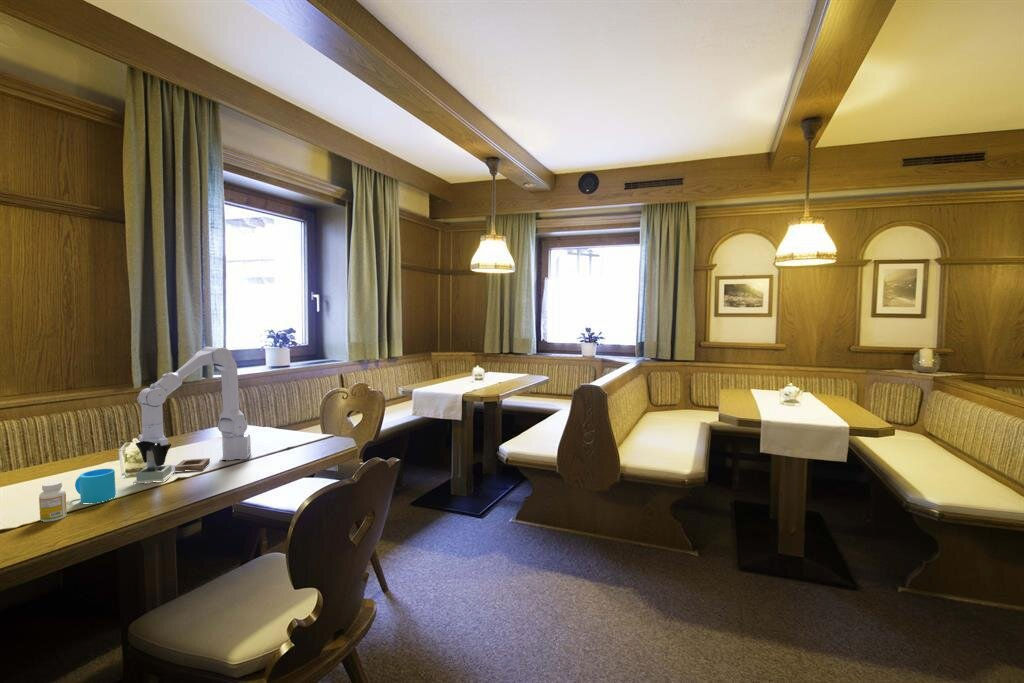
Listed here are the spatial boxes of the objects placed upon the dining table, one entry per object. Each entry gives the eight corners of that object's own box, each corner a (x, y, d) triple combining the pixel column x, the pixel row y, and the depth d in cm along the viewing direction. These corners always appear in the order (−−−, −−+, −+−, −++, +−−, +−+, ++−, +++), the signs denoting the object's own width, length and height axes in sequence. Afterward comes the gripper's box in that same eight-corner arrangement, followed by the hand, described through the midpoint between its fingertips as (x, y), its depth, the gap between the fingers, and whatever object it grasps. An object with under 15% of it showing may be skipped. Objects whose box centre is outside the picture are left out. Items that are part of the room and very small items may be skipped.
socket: (209, 463, 187) (209, 458, 187) (202, 470, 179) (202, 464, 179) (183, 465, 185) (183, 460, 184) (174, 472, 176) (174, 466, 176)
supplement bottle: (51, 514, 140) (49, 480, 139) (72, 513, 140) (70, 479, 139) (34, 522, 134) (32, 487, 134) (56, 522, 135) (54, 486, 134)
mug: (122, 495, 154) (121, 469, 154) (96, 505, 146) (95, 478, 146) (90, 492, 156) (89, 467, 156) (62, 502, 148) (61, 475, 148)
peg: (163, 473, 172) (162, 448, 172) (159, 477, 168) (158, 451, 168) (150, 475, 171) (149, 449, 170) (145, 478, 167) (144, 452, 167)
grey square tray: (174, 473, 175) (174, 464, 175) (164, 481, 167) (164, 472, 166) (144, 475, 173) (144, 466, 173) (133, 484, 164) (132, 474, 164)
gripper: (127, 423, 169) (129, 463, 169) (150, 428, 162) (152, 470, 162) (151, 419, 175) (152, 458, 176) (174, 424, 168) (175, 464, 169)
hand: (154, 463), depth 169 cm, fingers open, 7 cm apart
